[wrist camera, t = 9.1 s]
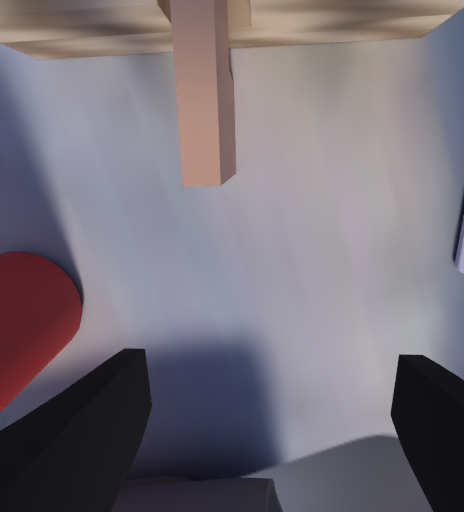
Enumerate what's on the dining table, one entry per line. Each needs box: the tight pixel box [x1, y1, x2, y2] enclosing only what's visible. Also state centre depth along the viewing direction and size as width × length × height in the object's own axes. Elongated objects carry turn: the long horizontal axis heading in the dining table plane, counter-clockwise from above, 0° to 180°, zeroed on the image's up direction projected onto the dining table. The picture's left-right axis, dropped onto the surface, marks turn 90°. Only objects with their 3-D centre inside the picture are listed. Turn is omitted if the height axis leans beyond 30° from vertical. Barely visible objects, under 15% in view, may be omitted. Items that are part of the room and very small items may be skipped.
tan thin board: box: [170, 0, 236, 186], centre depth 12 cm, size 1×12×7 cm, turn 1°
